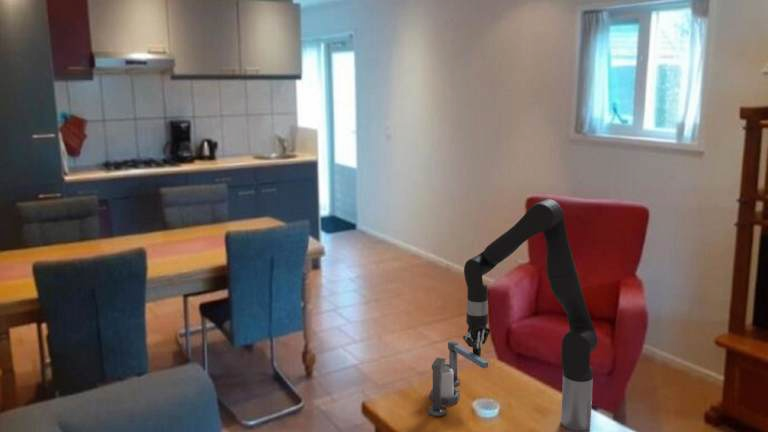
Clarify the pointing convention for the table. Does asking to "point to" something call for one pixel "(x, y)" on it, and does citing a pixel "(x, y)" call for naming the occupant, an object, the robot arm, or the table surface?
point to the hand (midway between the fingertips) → (476, 356)
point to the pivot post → (454, 366)
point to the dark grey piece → (437, 390)
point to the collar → (449, 400)
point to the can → (447, 381)
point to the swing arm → (467, 354)
